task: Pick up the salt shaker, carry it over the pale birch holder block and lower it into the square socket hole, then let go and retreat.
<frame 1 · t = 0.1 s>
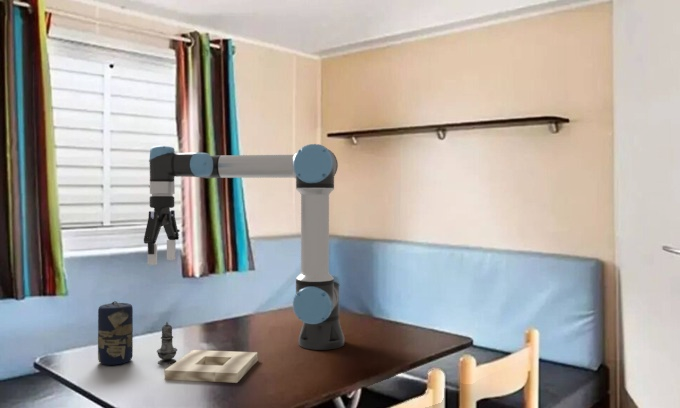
hand: (162, 262, 181), 28 cm above the table, fingers open, 13 cm apart
socket: (213, 369, 161), on the table
canister: (115, 362, 168), on the table
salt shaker: (167, 362, 168), on the table
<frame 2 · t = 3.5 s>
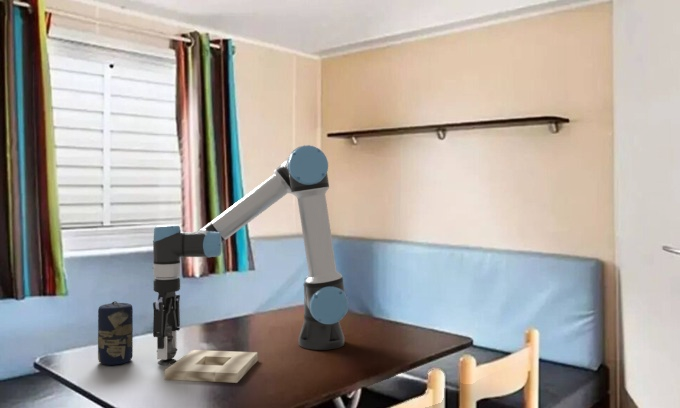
hand: (167, 355, 168), 2 cm above the table, fingers closed on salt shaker, 6 cm apart
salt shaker: (167, 362, 168), on the table, touching gripper
everything else where it was.
when the fingers open (4 cm above the table, at t = 8.4 s): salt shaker drops 2 cm, resting in socket.
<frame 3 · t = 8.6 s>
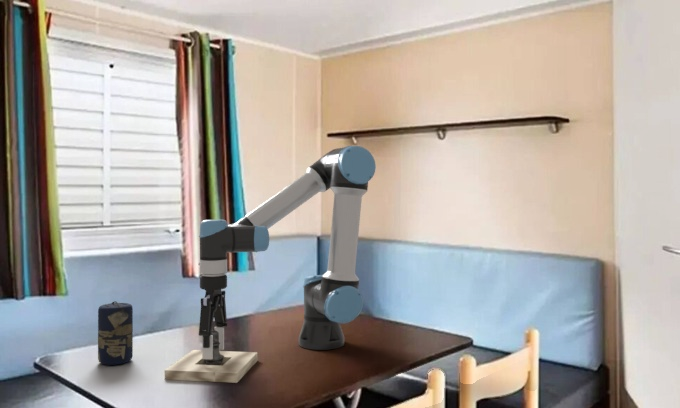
hand: (213, 354, 161), 4 cm above the table, fingers open, 9 cm apart
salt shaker: (213, 370, 161), resting in socket
everything else where it was.
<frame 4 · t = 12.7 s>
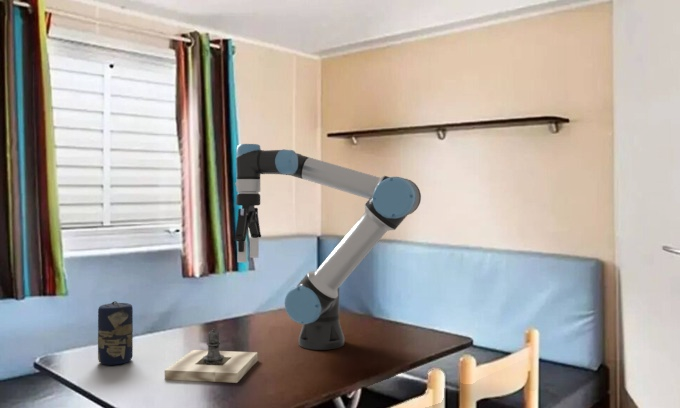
hand: (248, 260, 181), 29 cm above the table, fingers open, 13 cm apart
nothing on the table moved.
at the end: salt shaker 0.0 cm off-centre on the socket, point 0.0 cm above the socket's base; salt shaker tilted 0°; the gripper is holding nothing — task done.
